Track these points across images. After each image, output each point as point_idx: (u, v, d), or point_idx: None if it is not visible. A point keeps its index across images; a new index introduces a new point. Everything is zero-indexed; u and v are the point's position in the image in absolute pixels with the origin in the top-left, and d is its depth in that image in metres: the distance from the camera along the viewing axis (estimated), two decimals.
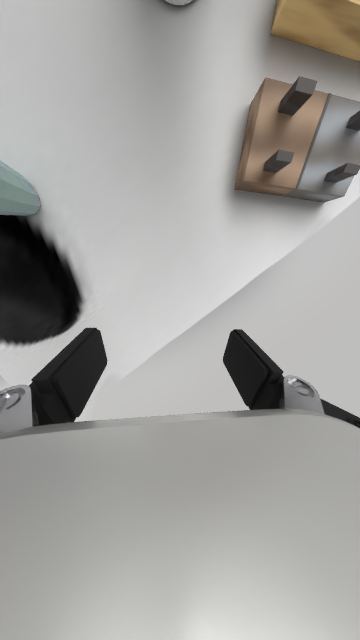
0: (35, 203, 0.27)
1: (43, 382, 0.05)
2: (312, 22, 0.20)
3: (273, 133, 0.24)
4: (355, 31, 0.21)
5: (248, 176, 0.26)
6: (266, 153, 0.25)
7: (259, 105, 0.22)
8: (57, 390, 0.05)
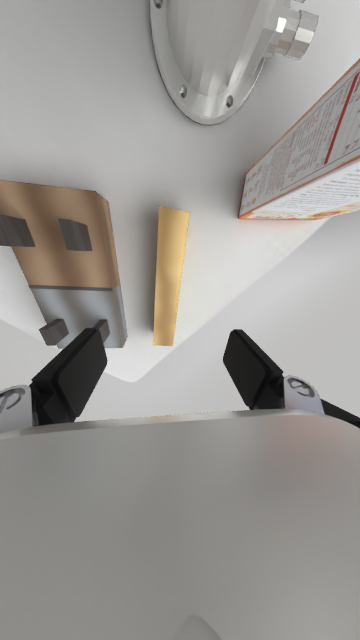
0: None
1: (43, 382, 0.05)
2: None
3: (57, 224, 0.17)
4: None
5: None
6: (34, 219, 0.16)
7: (73, 189, 0.16)
8: (57, 390, 0.05)
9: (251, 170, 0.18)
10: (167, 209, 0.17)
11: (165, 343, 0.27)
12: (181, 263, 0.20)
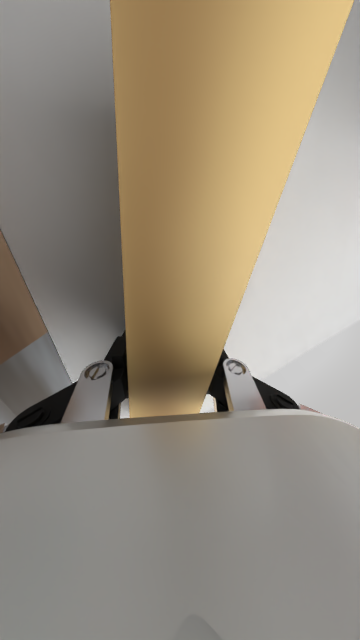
0: None
1: (119, 359, 0.06)
2: None
3: None
4: None
5: None
6: None
7: None
8: (126, 366, 0.07)
9: None
10: None
11: None
12: (232, 304, 0.05)
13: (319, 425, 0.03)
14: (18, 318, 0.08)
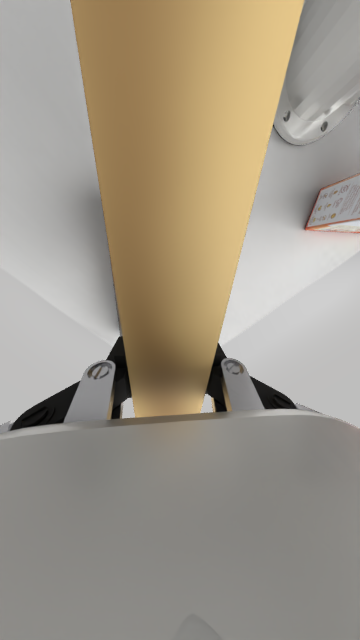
0: None
1: (121, 358, 0.06)
2: None
3: None
4: None
5: None
6: None
7: None
8: None
9: (329, 187, 0.20)
10: None
11: None
12: (221, 300, 0.05)
13: (319, 425, 0.03)
14: None
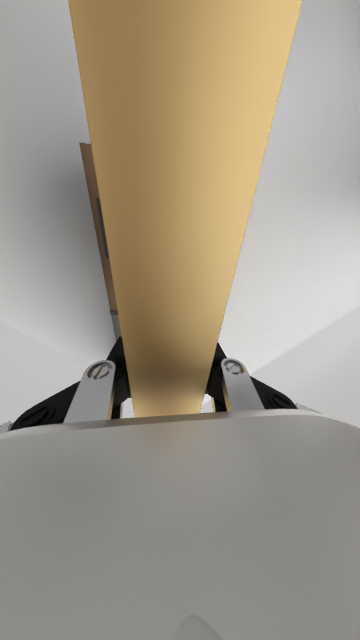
0: None
1: (121, 358, 0.06)
2: None
3: None
4: None
5: (93, 164, 0.09)
6: None
7: None
8: None
9: None
10: None
11: None
12: (220, 301, 0.05)
13: (319, 425, 0.03)
14: None
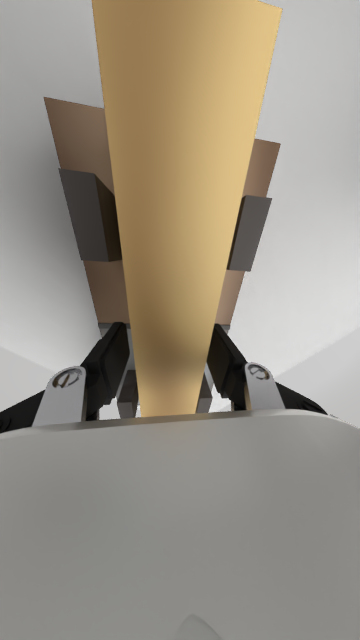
0: None
1: (94, 364, 0.06)
2: None
3: None
4: None
5: (65, 130, 0.06)
6: None
7: None
8: (103, 372, 0.06)
9: None
10: None
11: None
12: (215, 291, 0.06)
13: (319, 425, 0.03)
14: None
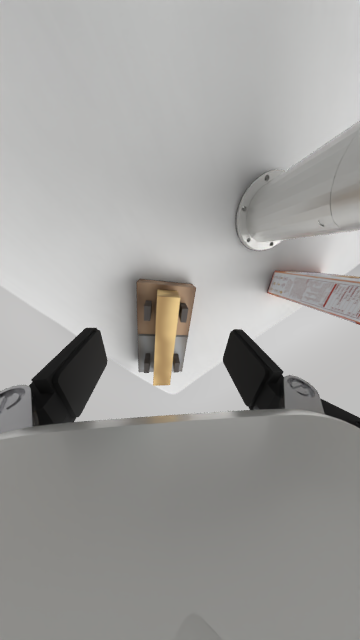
0: None
1: (43, 382, 0.05)
2: None
3: None
4: None
5: (140, 287, 0.26)
6: None
7: (183, 286, 0.27)
8: (57, 390, 0.05)
9: (278, 272, 0.31)
10: (163, 297, 0.22)
11: (163, 383, 0.32)
12: (175, 329, 0.25)
13: (319, 425, 0.03)
14: None
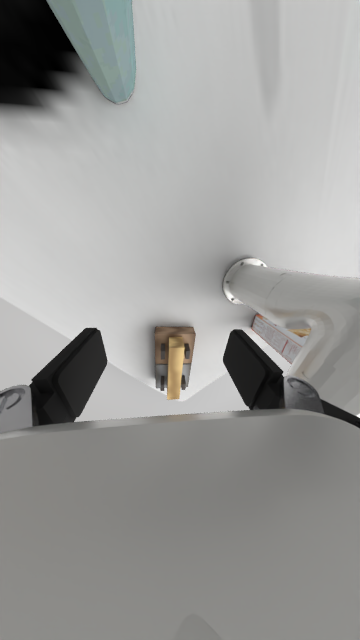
0: (104, 92, 0.20)
1: (43, 382, 0.05)
2: None
3: None
4: None
5: (157, 336, 0.38)
6: (168, 343, 0.40)
7: (186, 333, 0.39)
8: (57, 390, 0.05)
9: (258, 317, 0.41)
10: (173, 348, 0.34)
11: (174, 398, 0.44)
12: (181, 365, 0.37)
13: (319, 425, 0.03)
14: None
